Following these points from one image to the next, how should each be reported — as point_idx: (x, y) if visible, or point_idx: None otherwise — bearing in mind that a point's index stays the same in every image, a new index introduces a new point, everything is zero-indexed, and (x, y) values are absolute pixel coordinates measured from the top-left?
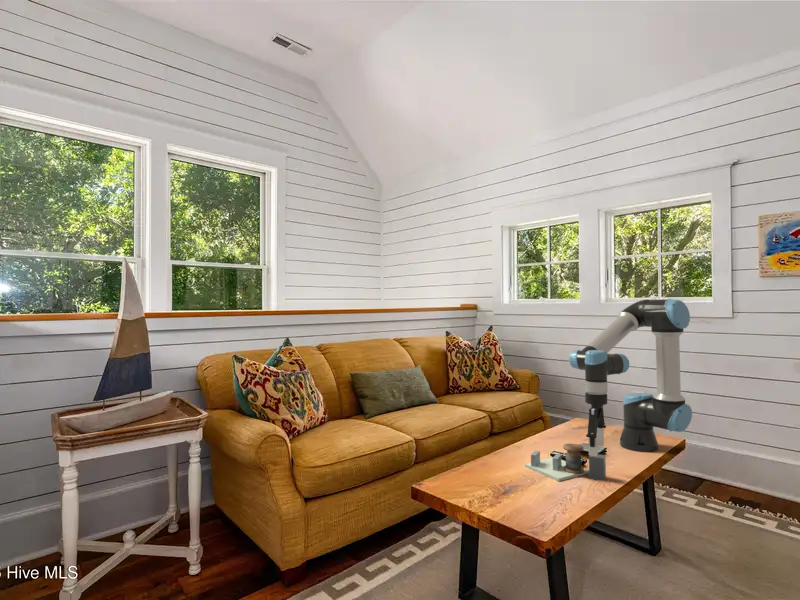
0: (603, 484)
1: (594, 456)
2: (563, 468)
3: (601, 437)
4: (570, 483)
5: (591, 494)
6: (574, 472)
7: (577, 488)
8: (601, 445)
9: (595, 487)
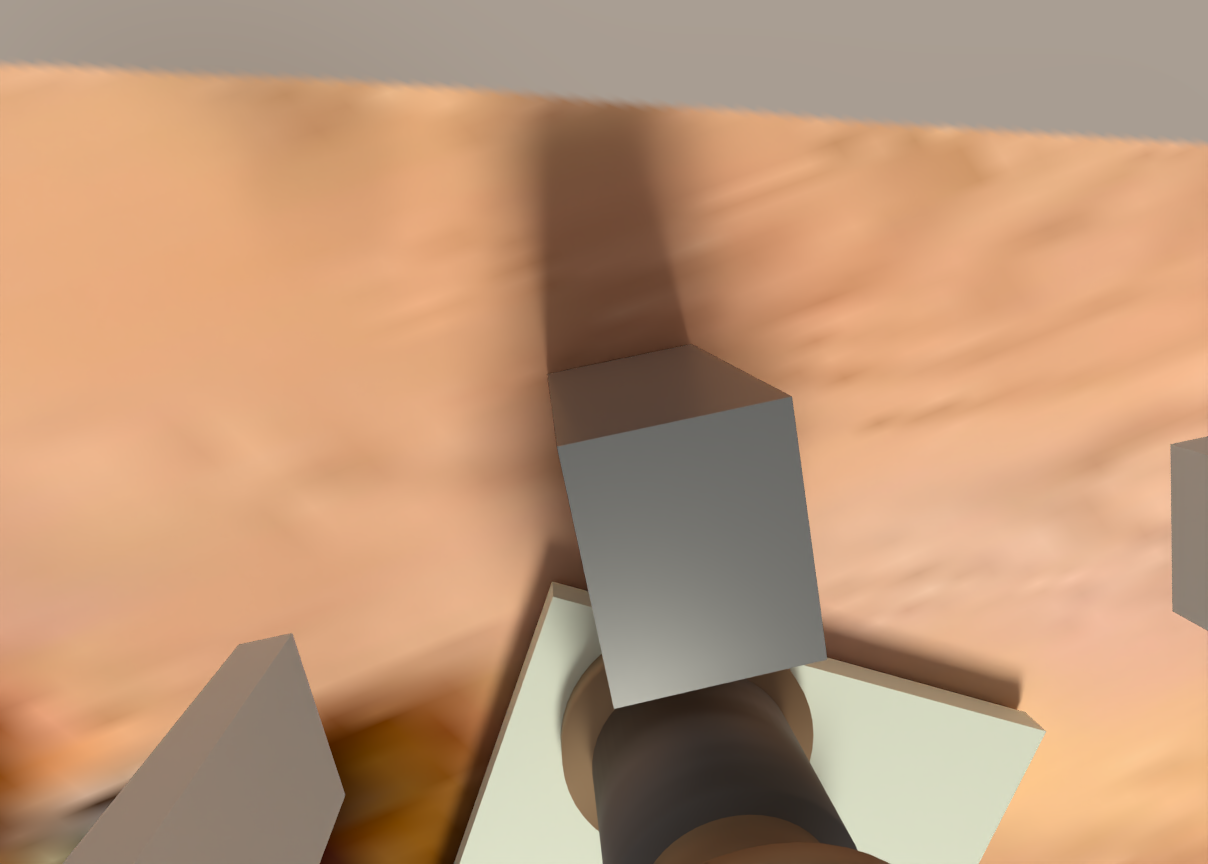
0: (802, 305)
1: (772, 581)
2: None
3: (202, 851)
4: (990, 602)
5: (1175, 300)
6: (798, 683)
7: (1088, 487)
8: (302, 682)
9: (951, 345)
